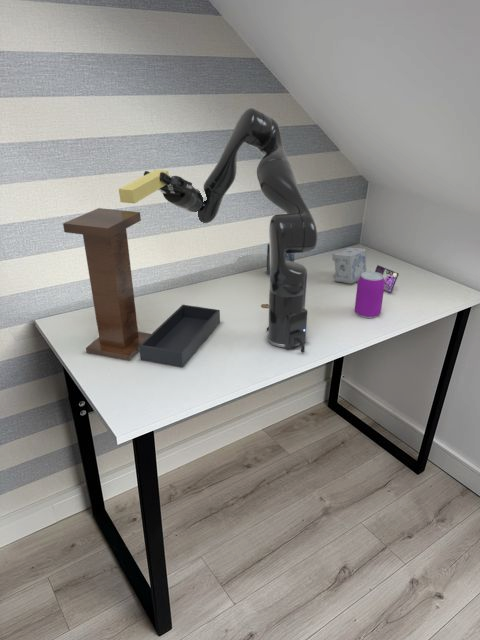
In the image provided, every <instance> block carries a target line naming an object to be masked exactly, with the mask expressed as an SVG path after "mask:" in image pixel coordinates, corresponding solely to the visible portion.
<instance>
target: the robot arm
mask: <svg viewBox="0 0 480 640" xmlns="http://www.w3.org/2000/svg"><path fill="white" fill-rule="evenodd" d="M282 138H283V137H282V133H281V129H280V126H279V123H278V122H277V121H276V119H274V118H273V117H271V116H269V115H268V114H265V113H264V112H262V111H260V110H258V109H256V108H254V107H249V108H247V109H245V110H244V111H243V113H242V114H241V115H240V117H239V119H238V121H237V122H236V124H235V126H234V128H233V129H232V132H231V134H230V136H229V138H228V140H227V143H226V144H225V147H224V149H223V151H222V153H221V156H220V158H219V160H218V161H217V163H216V165H215V166H214V168H213V170H212V171H211V172H210V174H209V176H208V177H207V179H206V180H205V181H204V183H203V192H205V194H206V197H207V200H206V201H204V202H203V197H202V195H201V193H200V191H199V190H198V189H199V188H195V187H194V185H193V183H192V182H191V181H188V180H186V179H185V178H183V177H182V176H180V175H169V176H168V175H167V174H165V173H164V172H160V181H161V182H163V183H164V184H167V185H165V186H163V187H162V188H160V189H158V190H157V191H160V192H161V193H162V195H163V198H164V199H165V200H166V201H167V202H169V203H171V204H172V205H174V206H176V207H178V208H180V209H183V210H184V211H187V212H189V213H192V212H197V211H198V217H199V220H200V221H201V222H203V223H202V224H204V223H205V224H209V223H211V222H212V221H214V219H216V218H217V217H216V216H217V215H218V213H219V210H220V208H221V204H222V202H223V199H224V196H225V195H226V194H227V192H228V191H229V189H230V188H231V186H233V183H234V182H235V180H236V176H237V162H238V161H237V159H238V153H239V150H240V149H241V147H242V145H244V144H246V145H247V146H249V147H252V148H254V149H256V150H258V151H259V152H260V153H261V154H262V158H261V159H260V160H259V162H258V164H257V167H256V177H257V178H256V179H257V181H258V184H259V187H260V191H261V193H262V195H263V196H264V197H265V199H267V200H268V201H269V202H270V203H272V205H274V206H276V207H277V208H279V209H280V210H281V211H283V213H278V214H277V213H276V214H274V215H272V217H271V218H270V221H269V225H268V227H269V228H268V240H269V242H268V244H270V275H269V288H268V289H269V292H268V294H269V295H268V323H267V325H268V326H267V327H266V333H267V341H268V343H269V344H271V345H273V346H275V347H278V348H283V349H286V350H291V349H293V348H295V347H298V346H300V348H301V349H300V352H301V353H304V352H305V344H306V339H307V324H308V309H306V299H307V298H306V296H307V282H308V270H307V268H306V266H304V265H303V264H301V263H298V262H296V261H294V262H292V261H289V260H287V259H286V258H285V254H290V253H294V254H302V253H309V252H312V251H314V249H316V246H317V243H318V229H317V225H316V223H315V219H314V217H313V214H312V213H311V211H310V209H309V207H308V205H307V204H306V202H305V200H304V198H303V195H302V194H301V191H300V189H299V185H298V184H297V179H296V177H295V174H294V171H293V168H292V165H291V164H290V161H289V158H288V155H287V153H286V150H285V148H284V143H283V139H282ZM150 172H151V171H149V170H145V171H144V172H143V176H144V175H146V174H148V173H150ZM201 222H200V223H201Z"/></svg>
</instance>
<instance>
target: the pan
mask: <svg viewBox="0 0 480 640" xmlns="http://www.w3.org/2000/svg"><path fill="white" fill-rule="evenodd" d="M220 324H221V310H220V309H216V308H209V307H202V306H195V305H189V304H182V305H180V306H179V307H178V308H177V309H176V310H175V311H174V312H173V313H172V314H171V315H170V316H169V317H167V319H166V320H164V321H163V322H162V323H161V324H160V325H159V326H158V327H157V328H156V329H155V330H154V331H153V332H152V333H150V334H151V335H150V336H149V337H148V338H147V339H146V340H144V341H143V342H142V343H141V344H140V345H139V350H140V351H139V357H140V359H139V360H140V361H142V362H143V361H144V362H148V363H149V362H150V363H155V364H160V365H166V366H171V367H176V368H184V367H185V366H186V364H187V363H188V362H189V361H190V359H192V357H193V356H194V355H195V354H196V352H197V351H198V350H199V349H200V348H201V347H202V345H204V343H205V342H206V341H207V339H208V338H209V337H210V336H211V335H212V334H213V332H215V330H216V329H217V328H218V326H219V325H220Z"/></svg>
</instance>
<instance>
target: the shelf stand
mask: <svg viewBox="0 0 480 640" xmlns="http://www.w3.org/2000/svg"><path fill="white" fill-rule="evenodd" d="M141 221H142V217H141V212H139V211H132V210H131V211H130V210H121V209H113V208H101V207H98V208H96V209H93V210H91V211H88V212H86V213H84V214H82V215H79V216H77V217H75V218H72V219H70V220H67V221H65V222H63V223H62V227H63V232H64V233H66V234H74V235H75V234H76V235H82V238H83V244H84V252H85V258H86V262H87V270H88V277H89V284H90V289H91V295H92V296H91V297H92V302H93V309H94V314H95V321H96V325H97V333H98V337H97V338H96V339H95V340H93V341H92V342H91V343H89V344H88V346H86V347H85V351H86V352H85V353H86V354H91V355H95V356H102V357H106V358H112V359H118V360H123V361H128V362H129V361H131V360H132V359H133V358H134V357H135V356H136V355H138V353H140V350H139V345H140V344H141V343H142V342H143V341H144V340H146V339H147V338H148V337H149V336H150V335H151V334H152V333H150V332H143V331H139V330H138V319H137V311H136V303H135V301H136V300H135V292H134V285H133V276H132V267H131V258H130V250H129V241H128V240H129V239H128V232H127V229H128V228H130V227H132V226H134V225H136V224H138V223H139V222H141Z"/></svg>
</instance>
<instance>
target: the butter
mask: <svg viewBox="0 0 480 640" xmlns="http://www.w3.org/2000/svg"><path fill="white" fill-rule="evenodd" d="M149 172H150V173H148V174H146V175H144V174H143V176H140V177H139V178H137V179H135V180H133V181H131V182H129V183H127V184H125V185H123V186H121V187H119V188H118V195H119V201H120V203H126V204H136V203H138V202H139V201H142V200H143V199H145V198H146V197H148V196H150V195H151V194H153V193H155V192H157V191H159V190H158V189H160V188H162V187H163V186H165V185H167V184H164V183H163V182H161V181H160V172H164V173H165V174H167V175H168V176H170V175H169V174H170V173H169V170H163V169H155V170H153V171H149Z"/></svg>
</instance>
